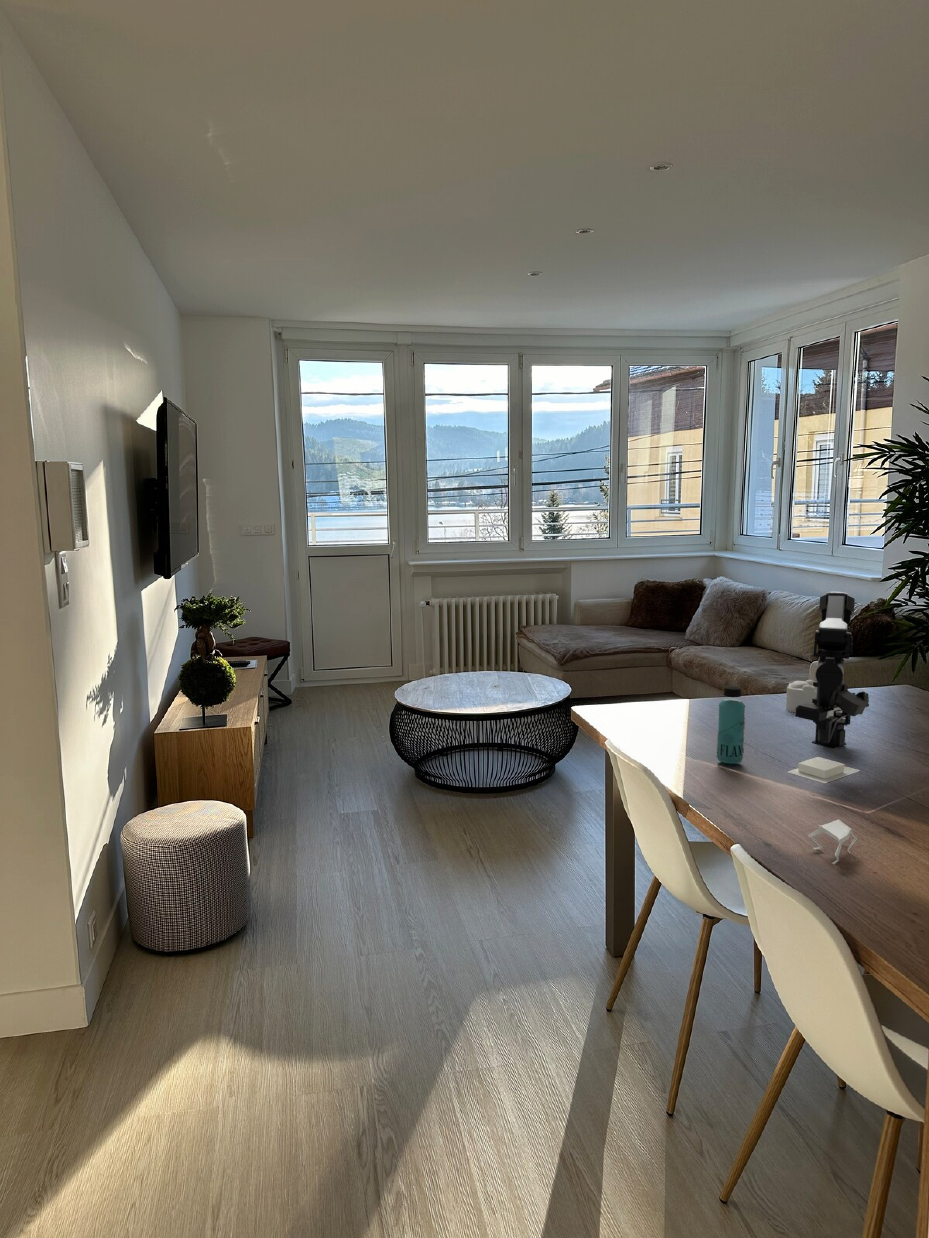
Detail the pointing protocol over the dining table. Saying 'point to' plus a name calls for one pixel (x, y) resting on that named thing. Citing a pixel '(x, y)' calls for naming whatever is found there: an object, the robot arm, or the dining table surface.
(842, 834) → the white legged piece
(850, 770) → the felt mat
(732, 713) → the beverage bottle
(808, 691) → the white bumpy block
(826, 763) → the rectangular block
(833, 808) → the dining table surface
